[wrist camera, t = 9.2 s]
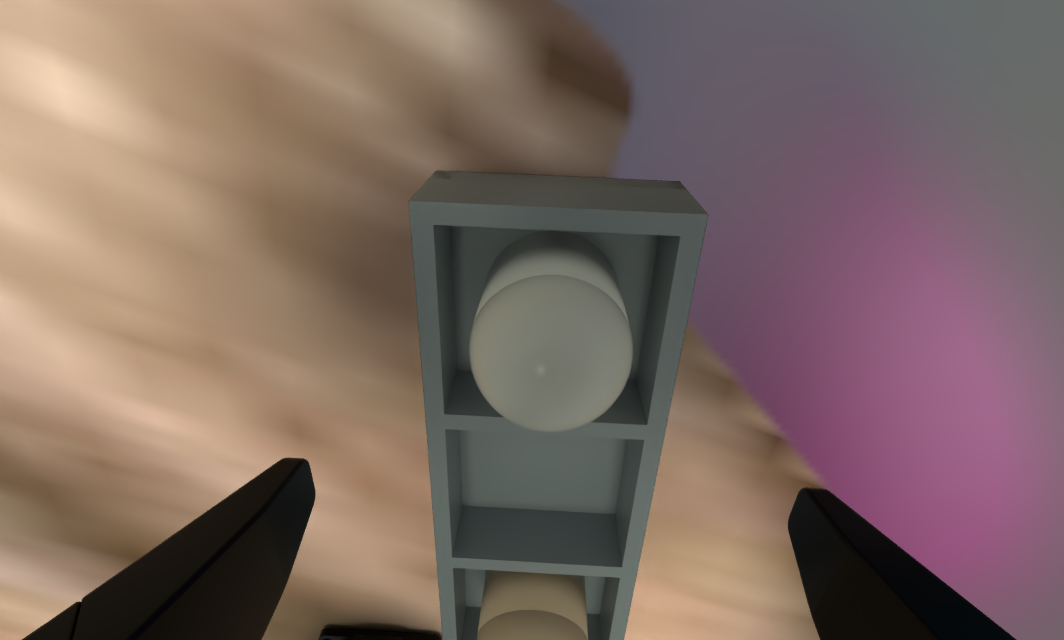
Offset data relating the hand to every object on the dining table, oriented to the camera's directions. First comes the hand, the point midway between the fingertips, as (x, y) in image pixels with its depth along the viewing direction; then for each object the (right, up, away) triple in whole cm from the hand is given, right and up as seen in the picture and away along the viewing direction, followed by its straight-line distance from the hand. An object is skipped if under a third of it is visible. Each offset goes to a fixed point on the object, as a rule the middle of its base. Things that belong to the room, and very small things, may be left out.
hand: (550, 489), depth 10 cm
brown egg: (0, -8, +14) cm, 16 cm away
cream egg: (0, +4, +8) cm, 9 cm away
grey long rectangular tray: (0, -2, +12) cm, 12 cm away
